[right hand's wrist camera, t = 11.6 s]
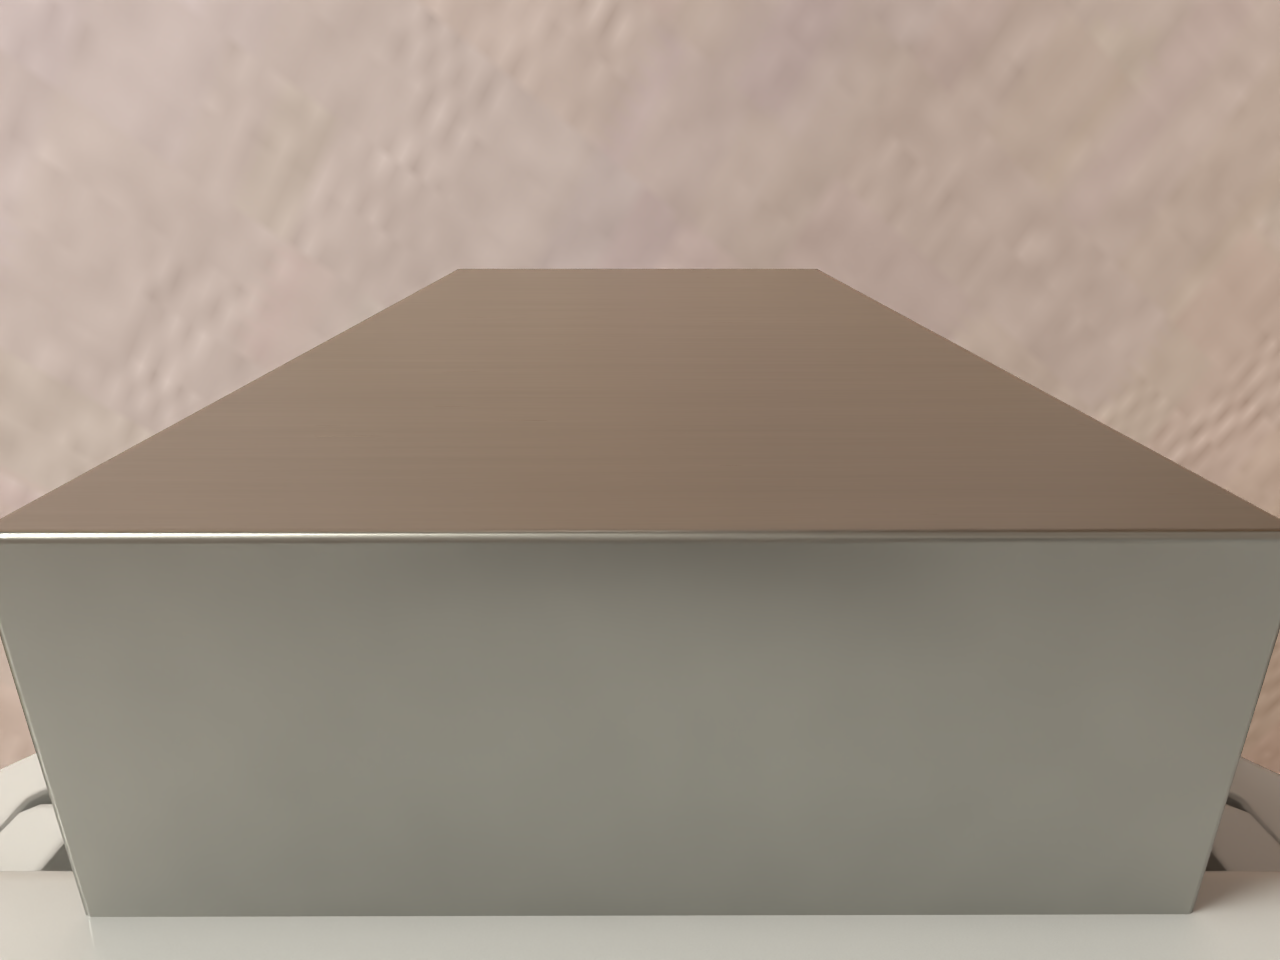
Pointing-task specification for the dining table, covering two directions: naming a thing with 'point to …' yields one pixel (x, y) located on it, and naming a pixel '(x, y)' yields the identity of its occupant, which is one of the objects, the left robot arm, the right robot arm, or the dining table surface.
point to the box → (638, 624)
